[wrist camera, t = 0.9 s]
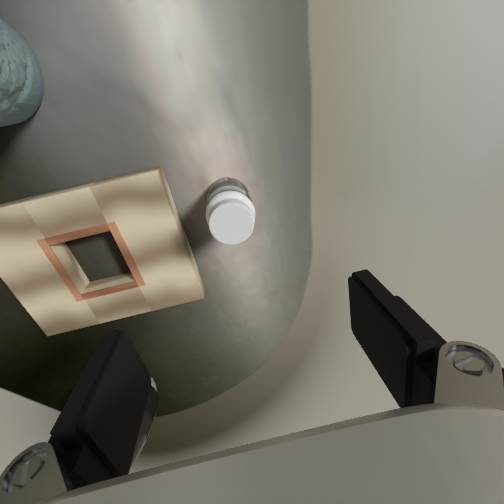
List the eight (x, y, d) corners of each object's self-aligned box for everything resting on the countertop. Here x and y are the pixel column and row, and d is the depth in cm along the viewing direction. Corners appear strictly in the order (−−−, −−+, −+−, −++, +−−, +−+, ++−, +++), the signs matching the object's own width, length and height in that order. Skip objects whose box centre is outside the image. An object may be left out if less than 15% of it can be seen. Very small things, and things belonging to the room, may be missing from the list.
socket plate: (-26, 210, 29) (-47, 219, 26) (160, 165, 29) (156, 170, 27) (57, 322, 36) (46, 337, 34) (204, 286, 37) (203, 298, 34)
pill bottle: (244, 220, 33) (252, 252, 25) (204, 213, 32) (201, 245, 25) (252, 180, 31) (264, 204, 23) (210, 172, 30) (209, 194, 22)
